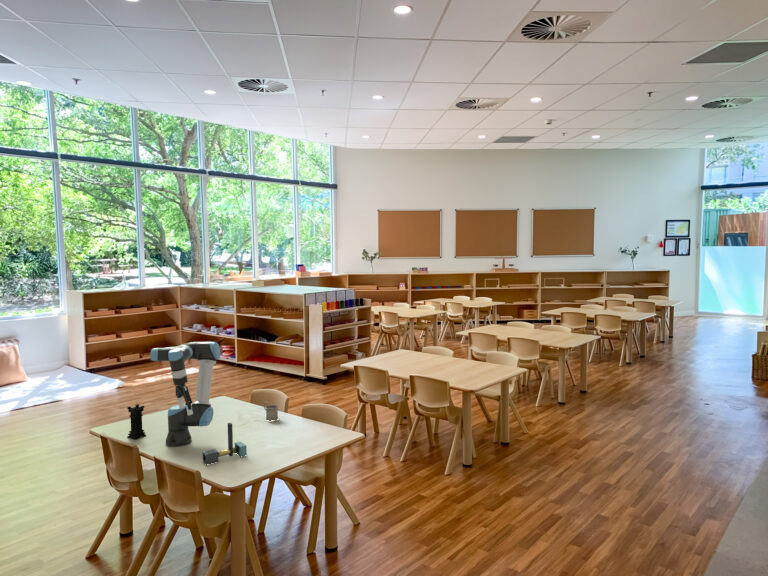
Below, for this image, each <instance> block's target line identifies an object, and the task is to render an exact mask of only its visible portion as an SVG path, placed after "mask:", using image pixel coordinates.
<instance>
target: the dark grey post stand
mask: <svg viewBox="0 0 768 576" xmlns="http://www.w3.org/2000/svg"><path fill="white" fill-rule="evenodd" d="M233 433H234V432H233V423H232V422H227V446H228V447H227V449H223V450H220V451H218V458H219V457H224V456H229V457H234V454H235V453H236V452H239V447H235V446H234V441H233V439H234V438H233V435H234V434H233Z"/></svg>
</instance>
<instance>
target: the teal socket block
mask: <svg viewBox="0 0 768 576" xmlns="http://www.w3.org/2000/svg"><path fill="white" fill-rule="evenodd" d="M233 445H234V448H235V447H239V452H236V453H237V454H238V455H239V456H240V457H239V456H238V455H237V454H236V455H237V456H238V457H239V458H242V457H241V456H245V455H247V454H248V453H247V445H246V444H245V443H244V442H242V441H241V440H240V441H237V442H233ZM245 457H246V456H245Z"/></svg>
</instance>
